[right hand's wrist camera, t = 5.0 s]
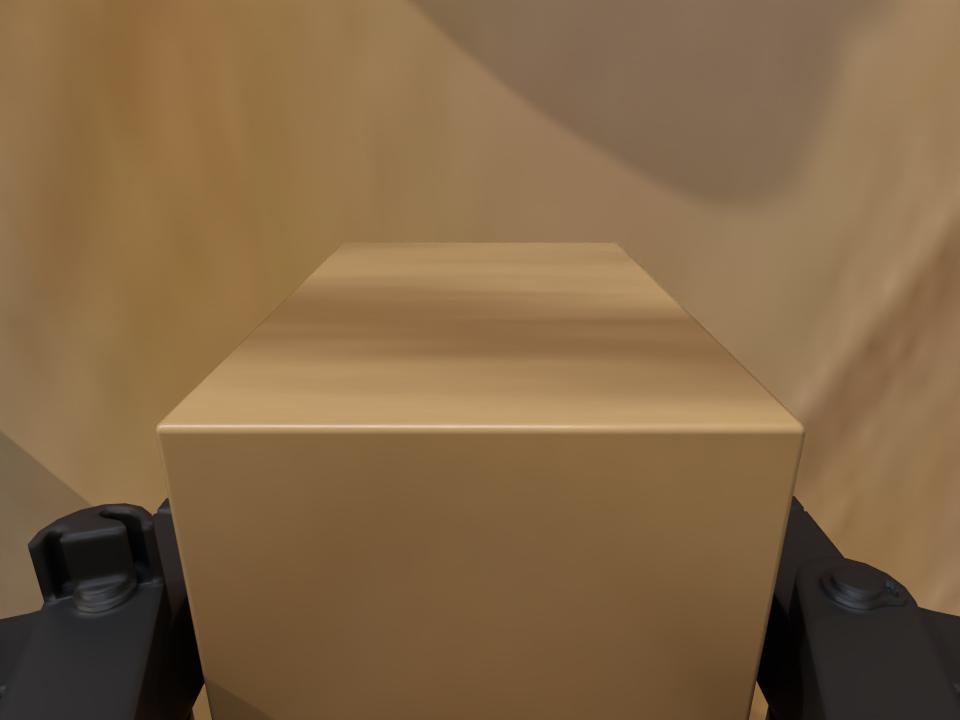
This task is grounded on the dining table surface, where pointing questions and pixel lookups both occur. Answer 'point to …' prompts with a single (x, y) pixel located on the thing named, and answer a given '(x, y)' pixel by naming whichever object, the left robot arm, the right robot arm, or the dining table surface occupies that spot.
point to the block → (480, 496)
